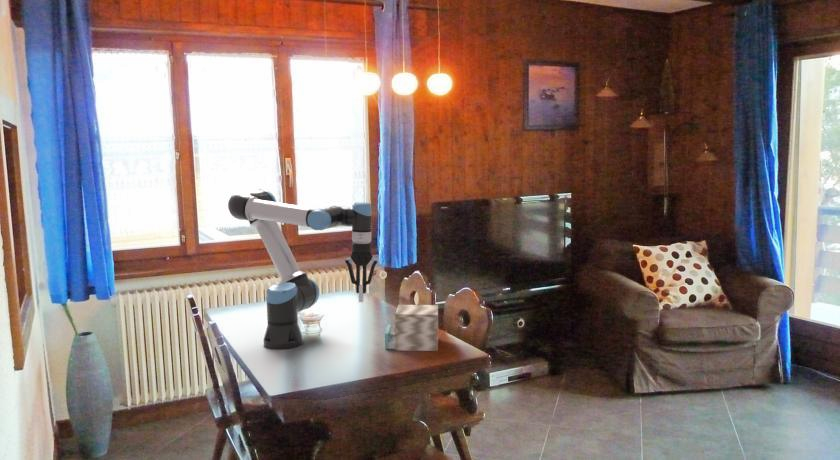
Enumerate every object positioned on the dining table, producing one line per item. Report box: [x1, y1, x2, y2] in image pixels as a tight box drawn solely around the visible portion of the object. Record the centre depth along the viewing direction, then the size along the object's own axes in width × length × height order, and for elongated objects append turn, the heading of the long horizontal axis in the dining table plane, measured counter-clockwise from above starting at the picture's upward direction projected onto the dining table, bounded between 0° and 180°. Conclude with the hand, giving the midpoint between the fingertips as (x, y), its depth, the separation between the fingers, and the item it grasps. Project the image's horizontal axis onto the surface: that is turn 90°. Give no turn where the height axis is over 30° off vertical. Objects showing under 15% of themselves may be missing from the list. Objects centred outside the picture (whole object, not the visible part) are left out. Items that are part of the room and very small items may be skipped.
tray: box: [384, 324, 396, 350], centre depth 254 cm, size 19×13×6 cm
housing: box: [394, 304, 439, 352], centre depth 253 cm, size 16×15×14 cm
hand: (361, 301), depth 256 cm, fingers closed
